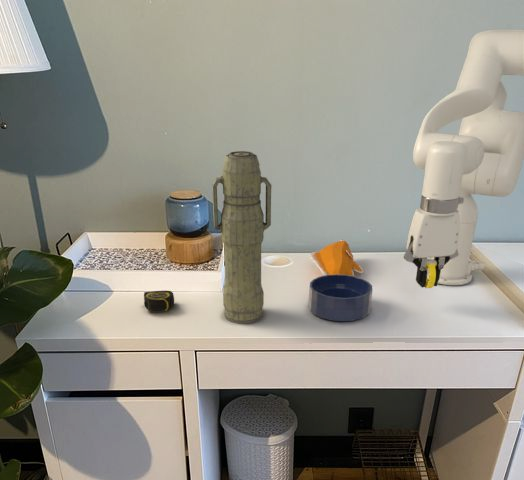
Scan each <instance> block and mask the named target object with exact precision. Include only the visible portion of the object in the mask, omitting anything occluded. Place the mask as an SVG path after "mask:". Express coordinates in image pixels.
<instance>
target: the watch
mask: <svg viewBox="0 0 524 480" xmlns="http://www.w3.org/2000/svg"><path fill="white" fill-rule="evenodd" d="M436 265H437V261H435V260H432V259H430V258H427V264H426V270H428V267H429V281H428V279H426V285H425V287H424V288H425V289H432V288H433V287H435V286H434V283H435V279H436V269H435V266H436Z"/></svg>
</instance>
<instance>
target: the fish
mask: <svg viewBox="0 0 524 480" xmlns="http://www.w3.org/2000/svg"><path fill="white" fill-rule="evenodd" d="M309 258H310V261H311V262H312V263H313V264H314V265H315V266H316V267H317V268H318V270H319V271H320V273H321V274H322V276H325V275H335V274H339V275H350V276H355V277H356V275H355V272H356V273H360V274H362V273H364V271H365V270H363V268H362V267H361V266H360V265H359V264H358V263H357V262H356V261H355V260H354V255H353V253H352V251H351V249H350V245H349V244H348V242H347V241H346V240H344V239H340V240H338V241H336V242H333V243H329V244H328V245H326V246H325V247H323V248H321V250H319V251H312V252H311V253H310V254H309Z"/></svg>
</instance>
